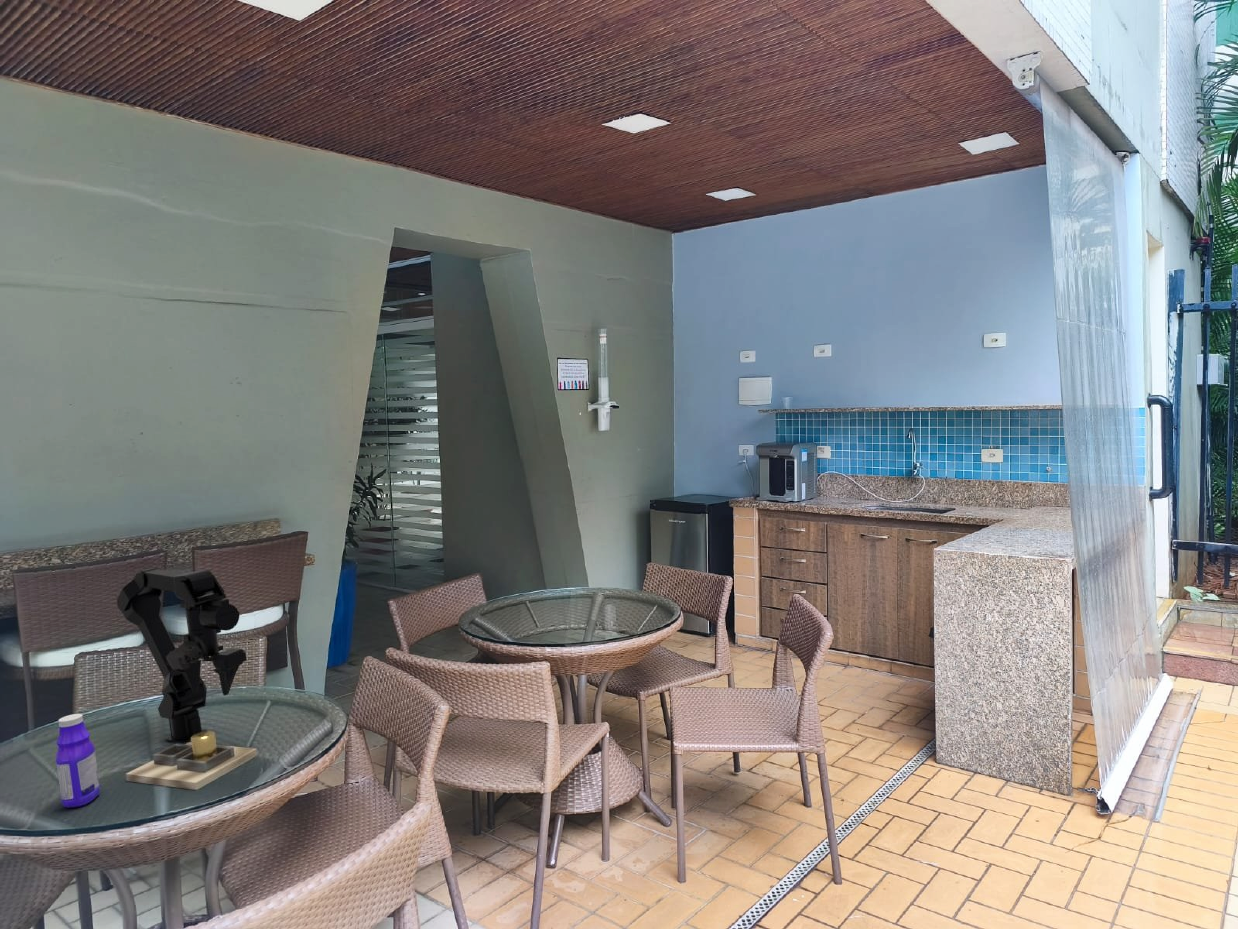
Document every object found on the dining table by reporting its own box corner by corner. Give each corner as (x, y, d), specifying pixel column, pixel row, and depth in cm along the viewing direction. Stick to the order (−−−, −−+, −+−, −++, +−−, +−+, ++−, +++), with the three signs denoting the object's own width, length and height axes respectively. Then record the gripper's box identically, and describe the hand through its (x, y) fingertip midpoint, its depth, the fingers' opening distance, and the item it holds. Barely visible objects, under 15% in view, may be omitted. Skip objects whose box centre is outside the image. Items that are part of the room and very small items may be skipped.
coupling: (189, 766, 176) (185, 739, 176) (207, 757, 181) (203, 730, 180) (205, 768, 175) (201, 740, 174) (223, 759, 179) (219, 732, 178)
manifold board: (126, 780, 175) (124, 764, 175) (190, 748, 190) (188, 733, 190) (196, 790, 168) (194, 773, 168) (257, 755, 183) (255, 740, 182)
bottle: (77, 794, 171) (65, 712, 169) (106, 791, 171) (94, 709, 170) (56, 811, 164) (44, 726, 162) (87, 808, 164) (74, 722, 163)
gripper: (140, 636, 185) (150, 704, 186) (203, 639, 178) (212, 709, 179) (183, 622, 195) (192, 687, 196) (243, 623, 188) (252, 691, 189)
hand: (210, 693), depth 190 cm, fingers open, 9 cm apart
